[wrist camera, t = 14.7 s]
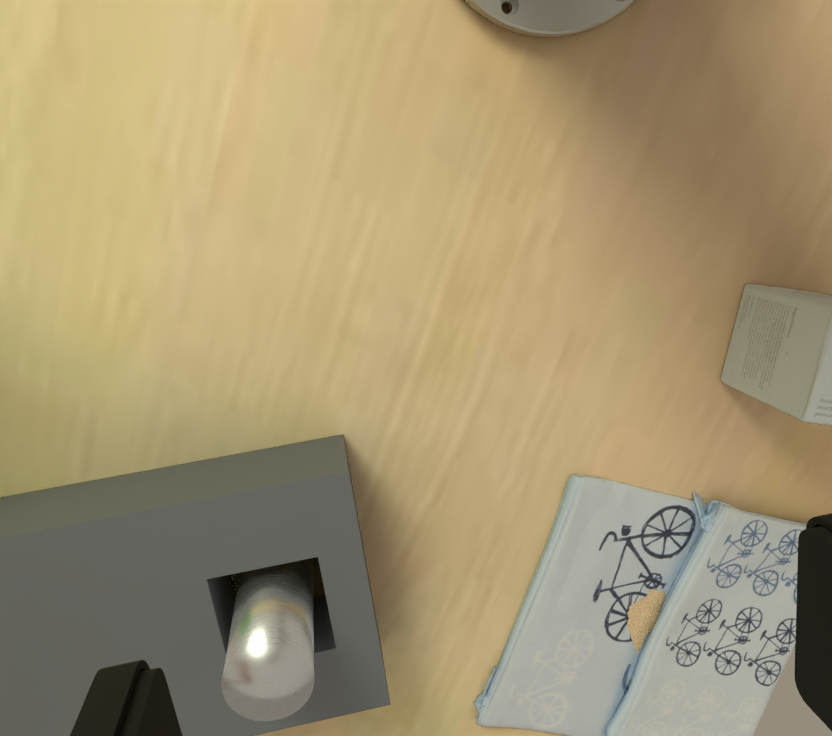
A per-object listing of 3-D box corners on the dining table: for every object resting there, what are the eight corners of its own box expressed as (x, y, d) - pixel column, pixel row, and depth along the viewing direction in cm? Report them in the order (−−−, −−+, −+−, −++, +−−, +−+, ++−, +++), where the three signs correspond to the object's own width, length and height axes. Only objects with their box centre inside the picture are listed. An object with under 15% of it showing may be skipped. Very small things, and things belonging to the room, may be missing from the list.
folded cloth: (720, 754, 50) (738, 779, 48) (462, 709, 46) (469, 735, 44) (838, 522, 46) (862, 539, 44) (567, 448, 42) (580, 463, 40)
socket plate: (343, 434, 39) (348, 471, 34) (380, 644, 43) (390, 704, 38) (-76, 511, 36) (-133, 563, 32) (6, 726, 40) (-34, 800, 36)
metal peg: (306, 524, 40) (305, 635, 30) (318, 584, 41) (321, 710, 31) (235, 537, 39) (212, 655, 30) (249, 598, 41) (232, 730, 31)
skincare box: (717, 382, 41) (800, 425, 34) (743, 281, 40) (837, 304, 33) (806, 391, 43) (905, 435, 36) (835, 293, 41) (945, 319, 34)
